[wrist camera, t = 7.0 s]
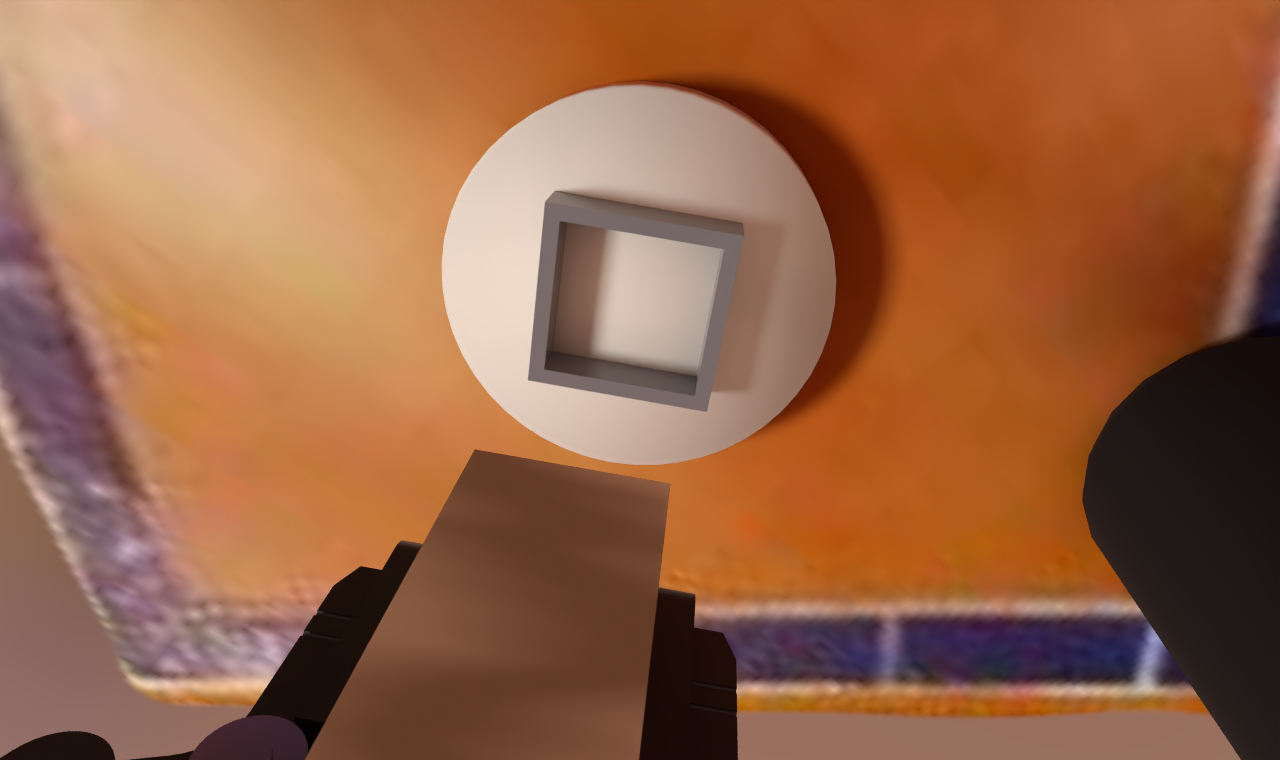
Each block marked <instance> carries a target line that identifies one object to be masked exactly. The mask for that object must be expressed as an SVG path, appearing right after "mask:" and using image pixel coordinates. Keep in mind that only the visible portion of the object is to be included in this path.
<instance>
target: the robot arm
mask: <svg viewBox="0 0 1280 760" xmlns="http://www.w3.org/2000/svg"><path fill="white" fill-rule="evenodd" d="M422 545H423V544H419V543H414V542H408V541H400V542H399V543H398V544H397V546H396V547H395V549H394V551H393V552H392V554H391V556H390V557H389V559H388V561H387V562H386V564H385V566H384V567H383V569H382V570H379V569H373V568H368V567H362V566H360V567H359V568H358V569H356V570H355V571H353V572H352V573H351V574H349V575H348V576H346V577H345V578H344V579H342V580H341V581H339V582H338V583H337V584H335V585H334V586H333V587H332V589H331V590H330V592H329V594H328V595H327V597H326V598H325V600H324V601H323V603H322V604H321V606H320V607H319V609H318V610H317V614H316V615H314V616H313V618H312V619H311V621H310V622H309V624H308V625H307V627H306V628H305V630H304V634H303V636H300V637H299V639H298V640H297V642H296V643H295V645H294V646H293V648H292V649H291V651H290V652H289V654H288V655H287V657H286V658H285V660H284V661H283V663H282V665H281V666H280V668H279V669H278V671H277V672H276V674H275V675H274V677H273V678H272V680H271V681H270V683H269V684H268V686H267V687H266V689H265V690H264V692H263V693H262V695H261V696H260V698H259V699H258V701H257V702H256V704H255V705H254V707H253V708H252V710H251V711H250V713H249V714H248V715H247V716H246V717H245V718H241V719H238V720H235V721H232V722H230V723H228V724H226V725H224V726H222V727H220V728H218V729H217V730H215V731H214V732H213V733H211V734H210V735H208V736H207V737H206V738H205V739H204V740H203V741H202V742H201V743H200V744H199V745H198V746H197V747H196V749H195V750H194V751H190V752H186V753H183V754H176V755H170V756H160V757H152V758H151V757H150V758H141V759H131V760H305V758H306V757H307V755H308V753H309V751H310V749H311V747H312V746H313V744H314V742H315V740H316V738H317V737H318V735H319V733H320V731H321V729H322V727H323V726H324V724H325V722H326V720H327V718H328V716H329V715H330V713H331V711H332V709H333V707H334V706H335V704H336V702H337V700H338V698H339V696H340V695H341V693H342V691H343V689H344V687H345V685H346V684H347V682H348V680H349V678H350V676H351V674H352V673H353V671H354V669H355V667H356V665H357V664H358V662H359V660H360V658H361V656H362V654H363V653H364V651H365V649H366V647H367V645H368V643H369V642H370V640H371V638H372V636H373V634H374V633H375V631H376V629H377V627H378V625H379V623H380V622H381V620H382V618H383V616H384V614H385V612H386V611H387V609H388V607H389V605H390V603H391V601H392V600H393V598H394V596H395V594H396V592H397V591H398V589H399V587H400V585H401V583H402V581H403V580H404V578H405V576H406V574H407V572H408V570H409V569H410V567H411V565H412V563H413V561H414V560H415V558H416V556H417V554H418V552H419V550H420V549H421V547H422ZM694 616H695V594H692V593H686V592H681V591H675V590H670V589H664V588H658V596H657V605H656V614H655V623H654V632H653V640H652V649H651V658H650V667H649V675H648V684H647V693H646V702H645V710H644V719H643V728H642V737H641V746H640V754H639V760H738V753H737V752H738V746H737V717H736V714H737V694H736V689H737V675H736V658H735V656H734V654H733V652H732V650H731V648H730V646H729V644H728V642H727V640H726V638H725V636H724V634H723V633H720V632H715V631H709V630H704V629H699V628H694ZM0 760H115V756H114V752H113V750H112V748H111V746H110V745H109V744H108V743H107V741H105V740H104V739H103V738H101V737H99V736H97V735H94V734H91V733H88V732H80V731H68V732H61V733H54V734H50V735H46V736H43V737H40V738H37V739H34V740H32V741H30V742H28V743H25V744H23V745H21V746H19V747H18V748H16V749H15V750H12V751H11V752H9V753H8V754H6V755H4V756H3V757H1V758H0Z"/></svg>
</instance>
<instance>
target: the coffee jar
mask: <svg viewBox="0 0 1280 760" xmlns="http://www.w3.org/2000/svg"><path fill="white" fill-rule="evenodd" d="M1083 505H1084V509H1085V513H1086V517H1087V521H1088V525H1089V529H1090V533H1091V537H1092V538H1093V540H1094V541H1095V543H1096V544H1097V546H1098V547H1099V549H1100V550H1101V552H1102V553H1103V555H1104V556H1105V558H1106V559H1107V561H1108V562H1109V564H1110V565H1111V567H1112V568H1113V570H1114V571H1115V572H1116V574H1117V575H1118V577H1119V578H1120V580H1121V581H1122V583H1123V584H1124V586H1125V587H1126V589H1127V590H1128V592H1129V593H1130V595H1131V596H1132V598H1133V599H1134V601H1135V602H1136V604H1137V605H1138V607H1139V608H1140V610H1141V611H1142V613H1143V614H1144V616H1145V617H1146V619H1147V620H1148V622H1149V623H1150V625H1151V626H1152V628H1153V629H1154V631H1155V632H1156V634H1157V635H1158V637H1159V638H1160V640H1161V641H1162V642H1163V644H1164V645H1165V647H1166V648H1167V650H1168V651H1169V653H1170V654H1171V656H1172V657H1173V659H1174V660H1175V662H1176V663H1177V665H1178V666H1179V668H1180V669H1181V671H1182V672H1183V674H1184V675H1185V677H1186V678H1187V680H1188V681H1189V683H1190V684H1191V686H1192V687H1193V689H1194V690H1195V692H1196V693H1197V695H1198V696H1199V698H1200V699H1201V701H1202V702H1203V704H1204V705H1205V707H1206V708H1207V710H1208V711H1209V712H1210V714H1211V715H1212V717H1213V718H1214V720H1215V721H1216V723H1217V724H1218V726H1219V727H1220V729H1221V730H1222V732H1223V733H1224V735H1225V736H1226V738H1227V739H1228V741H1229V742H1230V744H1231V745H1232V747H1233V748H1234V750H1235V751H1236V753H1237V754H1238V756H1239V757H1240V759H1241V760H1280V336H1279V337H1259V338H1244V339H1241V340H1238V341H1235V342H1230V343H1227V344H1223V345H1220V346H1217V347H1213V348H1210V349H1207V350H1204V351H1200V352H1197V353H1194V354H1191V355H1187V356H1185V357H1183V358H1181V359H1179V360H1178V361H1176V362H1174V363H1173V364H1171V365H1169V366H1168V367H1166V368H1164V369H1162V370H1161V371H1159V372H1157V373H1156V374H1154V375H1152V376H1151V377H1149V378H1147V379H1146V380H1144V381H1143V382H1142V383H1141V384H1140V385H1139V386H1138V387H1137V388H1136V389H1135V390H1134V391H1133V392H1132V393H1131V394H1130V395H1129V396H1128V397H1127V398H1126V399H1125V400H1124V401H1123V402H1122V403H1121V404H1120V405H1119V406H1118V407H1117V408H1116V409H1115V410H1114V411H1113V412H1112V413H1111V415H1110V417H1109V419H1108V420H1107V422H1106V424H1105V426H1104V428H1103V430H1102V431H1101V433H1100V435H1099V437H1098V439H1097V440H1096V442H1095V444H1094V446H1093V449H1092V451H1091V452H1090V454H1089V458H1088V464H1087V470H1086V477H1085V483H1084V489H1083Z"/></svg>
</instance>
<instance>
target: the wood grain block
mask: <svg viewBox="0 0 1280 760" xmlns="http://www.w3.org/2000/svg"><path fill="white" fill-rule="evenodd" d="M669 491H670V484H669V483H664V482H658V481H652V480H646V479H641V478H635V477H629V476H623V475H618V474H612V473H606V472H600V471H595V470H589V469H583V468H578V467H572V466H566V465H560V464H555V463H549V462H543V461H537V460H532V459H526V458H520V457H514V456H509V455H503V454H497V453H492V452H486V451H480V450H474V452H473V454H472V455H471V457H470V459H469V461H468V463H467V465H466V466H465V468H464V470H463V472H462V474H461V476H460V477H459V479H458V481H457V483H456V485H455V486H454V488H453V490H452V492H451V494H450V496H449V497H448V499H447V501H446V503H445V505H444V507H443V508H442V510H441V512H440V514H439V516H438V518H437V519H436V521H435V523H434V525H433V527H432V528H431V530H430V532H429V534H428V536H427V538H426V539H425V541H424V543H423V545H422V547H421V549H420V550H419V552H418V554H417V556H416V558H415V560H414V561H413V563H412V565H411V567H410V569H409V570H408V572H407V574H406V576H405V578H404V580H403V581H402V583H401V585H400V587H399V589H398V591H397V592H396V594H395V596H394V598H393V600H392V601H391V603H390V605H389V607H388V609H387V611H386V612H385V614H384V616H383V618H382V620H381V622H380V623H379V625H378V627H377V629H376V631H375V633H374V634H373V636H372V638H371V640H370V642H369V643H368V645H367V647H366V649H365V651H364V653H363V654H362V656H361V658H360V660H359V662H358V664H357V665H356V667H355V669H354V671H353V673H352V674H351V676H350V678H349V680H348V682H347V684H346V685H345V687H344V689H343V691H342V693H341V695H340V696H339V698H338V700H337V702H336V704H335V706H334V707H333V709H332V711H331V713H330V715H329V716H328V718H327V720H326V722H325V724H324V726H323V727H322V729H321V731H320V733H319V735H318V737H317V738H316V740H315V742H314V744H313V746H312V747H311V749H310V751H309V753H308V755H307V757H306V758H305V760H639V754H640V746H641V737H642V728H643V719H644V710H645V702H646V693H647V684H648V675H649V667H650V658H651V649H652V640H653V632H654V623H655V614H656V605H657V596H658V588H659V579H660V570H661V561H662V553H663V544H664V535H665V526H666V518H667V509H668V500H669Z"/></svg>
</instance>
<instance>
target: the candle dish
mask: <svg viewBox="0 0 1280 760" xmlns="http://www.w3.org/2000/svg"><path fill="white" fill-rule="evenodd" d="M442 287H443V293H444V299H445V306H446V311H447V315H448V318H449V321H450V325H451V328H452V331H453V334H454V337H455V339H456V341H457V343H458V346H459V348H460V350H461V352H462V355H463V357H464V358H465V360H466V362H467V363H468V365H469V367H470V368H471V370H472V372H473V373H474V375H475V376H476V378H477V379H478V380H479V382H480V383H481V384H482V385H483V387H484V388H485V389H486V391H487V392H488V393H489V394H490V395H491V396H492V397H493V399H494V400H495V401H496V402H497V403H498V404H499V405H500V406H501V407H502V408H503V409H504V410H505V411H506V412H508V413H509V414H510V415H511V416H513V417H514V418H515V419H516V420H517V421H519V422H520V423H521V424H522V425H524V426H525V427H527V428H528V429H530V430H531V431H533V432H535V433H536V434H538V435H539V436H541V437H542V438H544V439H546V440H548V441H550V442H552V443H554V444H556V445H558V446H560V447H562V448H564V449H567V450H570V451H573V452H576V453H578V454H581V455H584V456H587V457H591V458H595V459H599V460H604V461H608V462H615V463H623V464H631V465H659V464H668V463H678V462H683V461H687V460H692V459H696V458H701V457H704V456H707V455H709V454H712V453H715V452H718V451H721V450H724V449H726V448H728V447H730V446H732V445H734V444H736V443H738V442H740V441H742V440H744V439H746V438H747V437H749V436H750V435H752V434H753V433H755V432H756V431H758V430H759V429H761V428H762V427H764V426H765V425H766V424H767V423H769V422H770V421H771V420H772V419H773V418H774V417H776V416H777V415H778V414H779V413H780V412H781V411H782V410H783V409H784V408H785V407H786V406H787V405H788V404H789V403H790V402H791V400H792V399H793V398H794V397H795V396H796V395H797V394H798V392H799V391H800V390H801V388H802V387H803V385H804V384H805V382H806V381H807V379H808V378H809V377H810V375H811V373H812V371H813V370H814V368H815V366H816V364H817V362H818V360H819V358H820V356H821V354H822V351H823V349H824V346H825V343H826V340H827V337H828V334H829V331H830V327H831V322H832V317H833V312H834V307H835V295H836V271H835V259H834V252H833V248H832V243H831V239H830V234H829V230H828V227H827V224H826V222H825V219H824V217H823V214H822V211H821V209H820V206H819V204H818V201H817V199H816V197H815V195H814V192H813V190H812V188H811V186H810V185H809V183H808V181H807V179H806V177H805V176H804V174H803V172H802V170H801V168H800V167H799V166H798V164H797V163H796V162H795V160H794V159H793V158H792V156H791V155H790V154H789V152H788V151H787V150H786V148H785V147H784V146H783V145H782V144H781V143H780V142H779V141H778V140H777V139H776V138H775V137H774V136H773V135H772V134H771V133H770V132H769V131H768V130H767V129H766V128H765V127H764V126H762V125H761V124H760V123H758V122H757V121H756V120H754V119H753V118H752V117H750V116H749V115H748V114H746V113H745V112H743V111H742V110H740V109H738V108H736V107H734V106H733V105H731V104H729V103H727V102H726V101H724V100H722V99H720V98H717V97H714V96H712V95H709V94H707V93H704V92H702V91H699V90H696V89H692V88H688V87H684V86H680V85H676V84H671V83H662V82H652V81H627V82H614V83H609V84H603V85H598V86H593V87H589V88H586V89H583V90H580V91H577V92H574V93H571V94H568V95H566V96H564V97H562V98H560V99H558V100H556V101H554V102H552V103H550V104H548V105H546V106H544V107H542V108H541V109H539V110H538V111H536V112H534V113H533V114H531V115H530V116H528V117H527V118H525V119H524V120H523V121H521V122H520V123H518V124H517V125H515V126H514V127H512V128H511V129H510V130H508V131H507V132H506V133H505V134H504V135H503V136H502V137H501V138H500V139H499V140H498V141H497V142H495V143H494V144H493V145H492V146H491V147H490V148H489V149H488V150H487V152H486V153H485V154H484V155H483V157H482V158H481V159H480V160H479V162H478V163H477V164H476V165H475V167H474V168H473V169H472V171H471V173H470V175H469V176H468V178H467V180H466V181H465V183H464V185H463V187H462V188H461V190H460V192H459V194H458V197H457V199H456V202H455V204H454V207H453V209H452V212H451V214H450V218H449V222H448V226H447V230H446V234H445V238H444V247H443V256H442Z"/></svg>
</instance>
